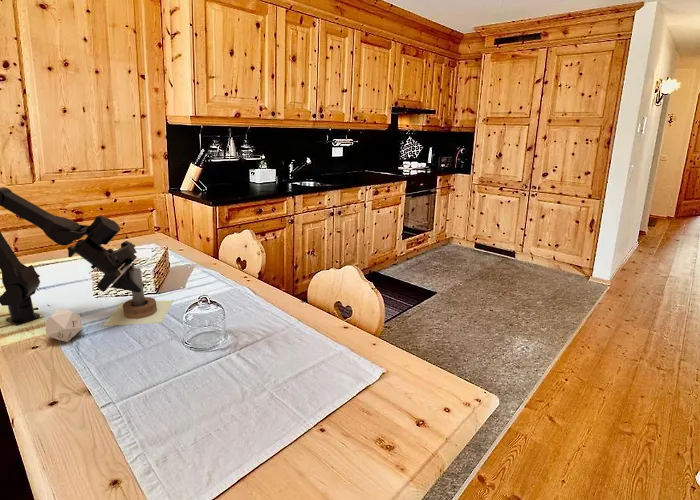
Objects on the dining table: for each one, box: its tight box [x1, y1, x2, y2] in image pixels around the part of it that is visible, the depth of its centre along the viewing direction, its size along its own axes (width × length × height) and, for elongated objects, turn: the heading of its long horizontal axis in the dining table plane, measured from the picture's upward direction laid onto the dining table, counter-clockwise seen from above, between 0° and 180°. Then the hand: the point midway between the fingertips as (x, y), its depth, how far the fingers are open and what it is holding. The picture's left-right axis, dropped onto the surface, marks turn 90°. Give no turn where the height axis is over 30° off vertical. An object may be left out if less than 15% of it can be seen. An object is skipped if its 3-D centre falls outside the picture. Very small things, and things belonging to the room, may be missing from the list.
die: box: [44, 308, 84, 343], centre depth 120 cm, size 8×9×10 cm
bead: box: [123, 296, 157, 319], centre depth 135 cm, size 9×9×3 cm
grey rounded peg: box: [129, 267, 145, 307], centre depth 133 cm, size 3×3×13 cm
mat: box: [102, 299, 174, 327], centre depth 136 cm, size 16×16×1 cm
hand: (142, 289), depth 133 cm, fingers closed on grey rounded peg, 3 cm apart
